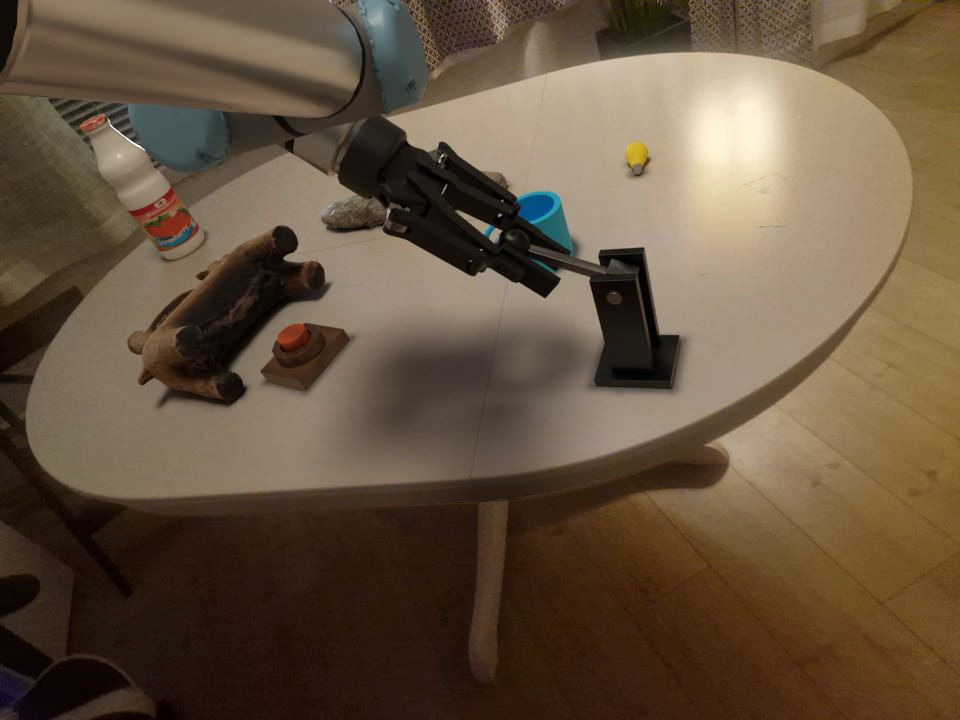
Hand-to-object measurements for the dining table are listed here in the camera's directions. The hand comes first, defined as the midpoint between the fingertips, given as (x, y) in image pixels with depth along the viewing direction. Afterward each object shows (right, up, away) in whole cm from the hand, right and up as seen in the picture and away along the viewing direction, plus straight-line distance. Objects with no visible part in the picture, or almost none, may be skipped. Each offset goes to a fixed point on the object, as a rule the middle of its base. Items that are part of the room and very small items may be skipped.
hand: (558, 274), depth 65 cm
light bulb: (+17, +21, +35) cm, 44 cm away
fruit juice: (-69, +15, +69) cm, 98 cm away
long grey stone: (-19, +18, +49) cm, 56 cm away
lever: (0, 0, 0) cm, 0 cm away
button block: (-32, -9, +26) cm, 42 cm away
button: (-33, -6, +23) cm, 41 cm away
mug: (0, +5, +26) cm, 27 cm away
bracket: (+9, -9, +6) cm, 14 cm away
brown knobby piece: (-47, -5, +37) cm, 60 cm away
